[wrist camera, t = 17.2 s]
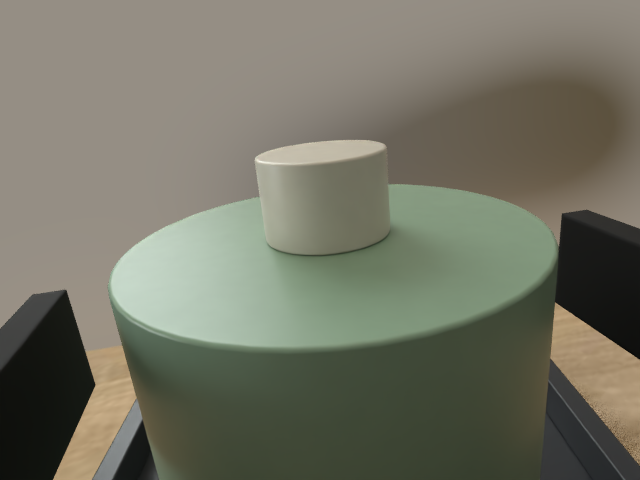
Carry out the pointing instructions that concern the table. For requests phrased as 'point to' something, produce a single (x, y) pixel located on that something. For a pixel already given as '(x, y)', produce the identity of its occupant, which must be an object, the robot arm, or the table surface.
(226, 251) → the cover
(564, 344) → the table surface
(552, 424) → the tray
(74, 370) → the robot arm
